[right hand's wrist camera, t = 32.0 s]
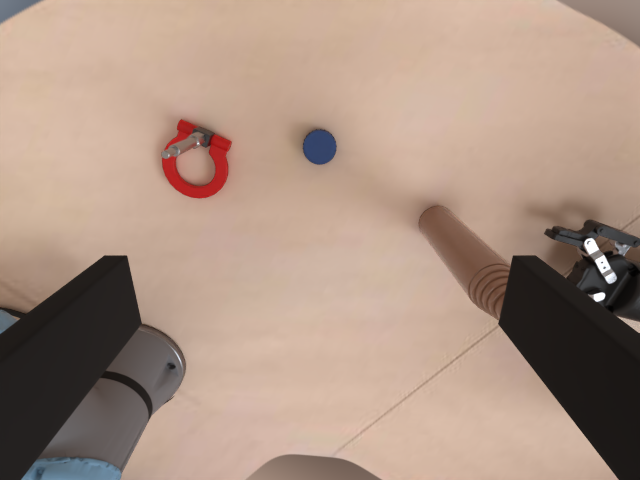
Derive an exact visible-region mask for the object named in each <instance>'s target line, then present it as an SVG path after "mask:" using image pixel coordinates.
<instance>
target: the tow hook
mask: <svg viewBox="0 0 640 480" xmlns="http://www.w3.org/2000/svg"><path fill="white" fill-rule="evenodd" d="M177 130H179V132H178V136H177V137H176V138H174V139H172V140H171V141H170V142H169V143H168V144H167V146H166V148H165V150H164V151H163V152H162V153H161V155H162V165H163V170H164V173H165V176H166V178H167V179H168V181H169V182H170V184H171V185H172V186H173V187H174V188H175V189H176V190H177V191H179V192H181V193H182V194H184V195H186V196H189V197H193V198H206V197H209V196H212V195H214V194H215V193H217V192H218V191H219V190H220V189H221V188H222V187H223V185H224V184H225V182H226V179H227V176H228V163H227V159H226V153H227V152H228V151H229V149H230V146H231V141H229V140H227V139H224V138H222V137H220V136H218V135H215V133H213V132H211V131H208V130H206V129H204V128H202V127H197V126H195V125H193V124H191V123H188V122H186V121H184V120H180V121H179V123H178V126H177ZM210 145H211V147H210V150H209V154H210V155H211V157H212V158H213V160H214V163H215V167H216V173H215V176H214V178H213V180H212V182H210V183H209V184H207V185H205V186H194V185H191V184H189V183H187V182H186V181H184V180H183V179H182V178H181V177H180V175H179V173H178V172H177V169H176V157H177V156H178V155H180V154H182V153H184V152H186V151H188V150H190V149H192V148H193V149H196V148H197V147H199V146H203V147H208V146H210Z"/></svg>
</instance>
